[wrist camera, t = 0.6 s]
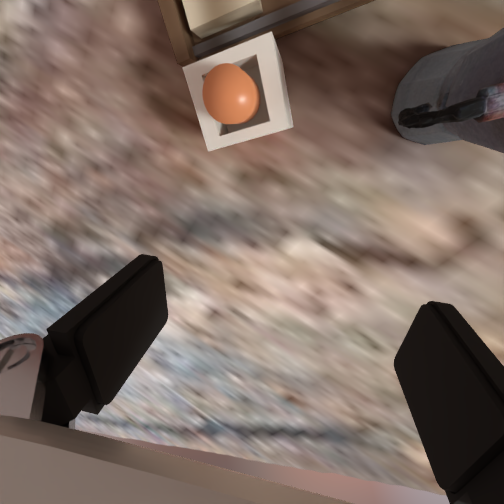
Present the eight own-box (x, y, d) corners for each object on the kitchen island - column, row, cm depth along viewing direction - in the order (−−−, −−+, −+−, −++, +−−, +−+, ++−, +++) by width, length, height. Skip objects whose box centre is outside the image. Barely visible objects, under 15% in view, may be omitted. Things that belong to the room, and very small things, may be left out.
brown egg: (254, 65, 21) (244, 54, 18) (264, 116, 23) (257, 115, 19) (212, 81, 22) (195, 73, 19) (225, 129, 24) (211, 130, 21)
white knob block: (281, 54, 28) (270, 22, 19) (293, 126, 31) (288, 128, 22) (216, 78, 30) (180, 59, 21) (233, 143, 33) (208, 151, 24)
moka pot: (516, 121, 27) (919, 118, 9) (364, 168, 31) (437, 226, 14) (523, 12, 23) (1207, -334, 6) (350, 85, 28) (424, 23, 10)
